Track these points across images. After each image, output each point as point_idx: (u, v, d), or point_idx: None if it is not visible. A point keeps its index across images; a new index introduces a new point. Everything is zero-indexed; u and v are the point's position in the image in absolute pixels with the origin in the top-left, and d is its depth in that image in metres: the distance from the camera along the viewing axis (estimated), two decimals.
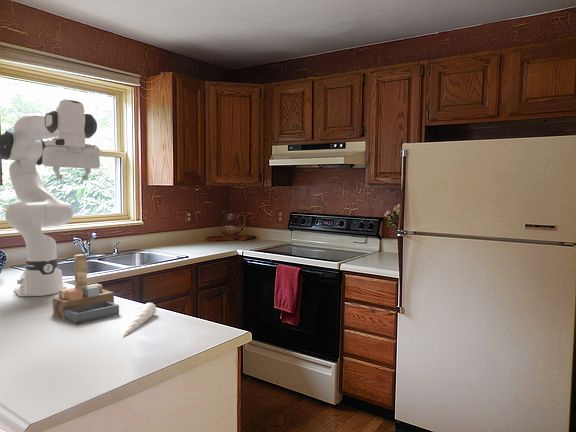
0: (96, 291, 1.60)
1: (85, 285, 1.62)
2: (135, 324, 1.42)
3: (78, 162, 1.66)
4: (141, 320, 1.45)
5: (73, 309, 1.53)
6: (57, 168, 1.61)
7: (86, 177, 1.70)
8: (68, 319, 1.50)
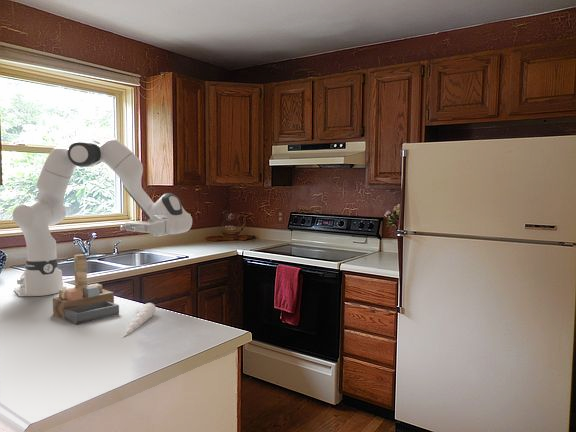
0: (96, 291, 1.60)
1: (85, 285, 1.62)
2: (135, 324, 1.41)
3: None
4: (141, 320, 1.45)
5: (73, 309, 1.53)
6: (144, 231, 1.74)
7: None
8: (68, 319, 1.50)
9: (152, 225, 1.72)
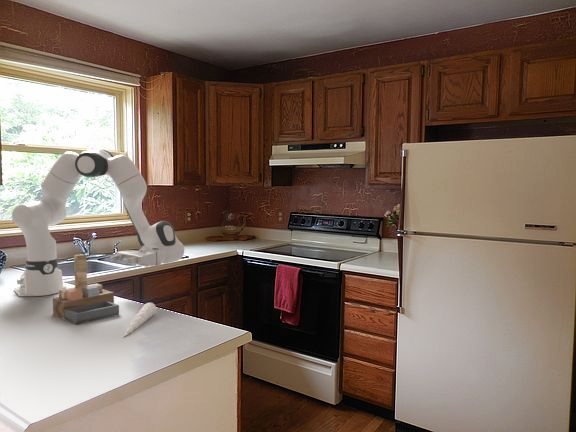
0: (96, 291, 1.60)
1: (85, 285, 1.62)
2: (135, 324, 1.41)
3: None
4: (141, 320, 1.45)
5: (73, 309, 1.53)
6: None
7: None
8: (68, 319, 1.50)
9: (143, 257, 1.70)
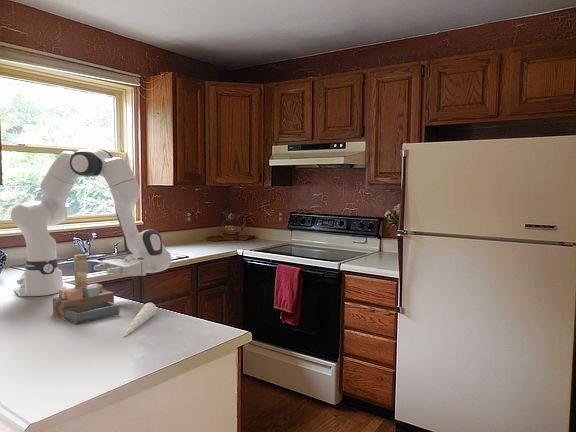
0: (96, 291, 1.60)
1: (85, 285, 1.62)
2: (135, 324, 1.41)
3: None
4: (141, 320, 1.45)
5: (73, 309, 1.53)
6: None
7: None
8: (68, 319, 1.50)
9: (127, 267, 1.65)
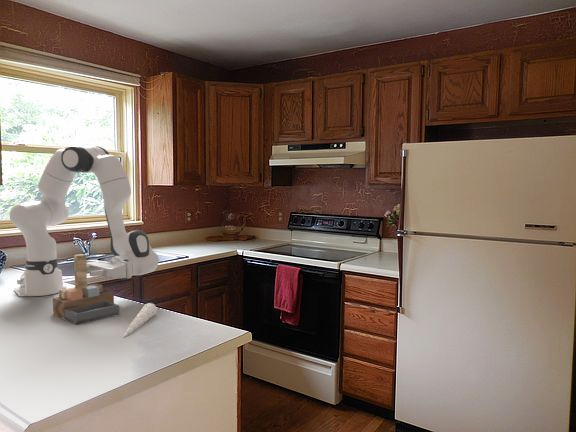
0: (96, 291, 1.60)
1: (85, 285, 1.62)
2: (135, 324, 1.41)
3: None
4: (141, 320, 1.45)
5: (73, 309, 1.53)
6: None
7: None
8: (68, 319, 1.50)
9: (111, 270, 1.61)
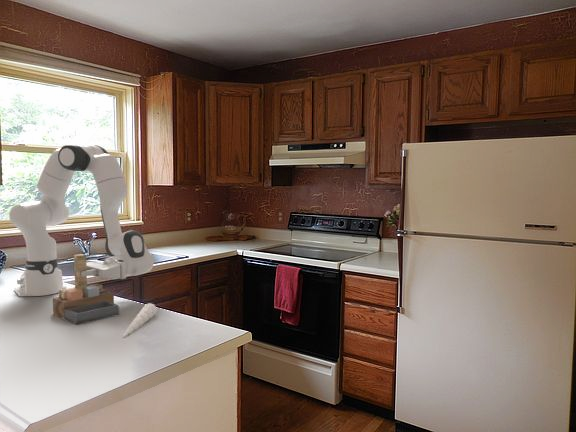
0: (96, 291, 1.60)
1: (85, 285, 1.62)
2: (135, 325, 1.41)
3: None
4: (141, 321, 1.45)
5: (73, 309, 1.53)
6: None
7: None
8: (68, 319, 1.50)
9: (105, 270, 1.59)
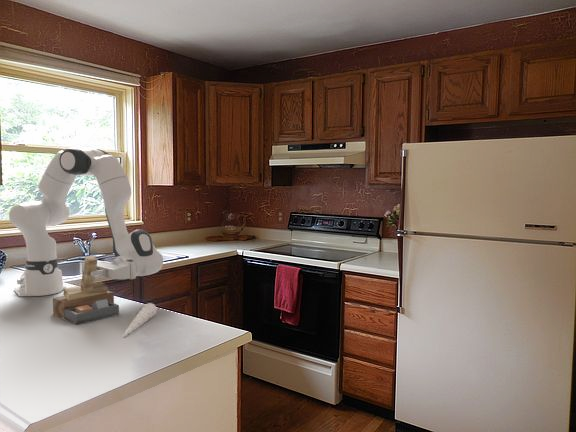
0: None
1: (91, 287, 1.59)
2: (135, 325, 1.41)
3: None
4: (141, 321, 1.45)
5: (73, 309, 1.53)
6: None
7: None
8: (68, 319, 1.50)
9: (114, 270, 1.54)
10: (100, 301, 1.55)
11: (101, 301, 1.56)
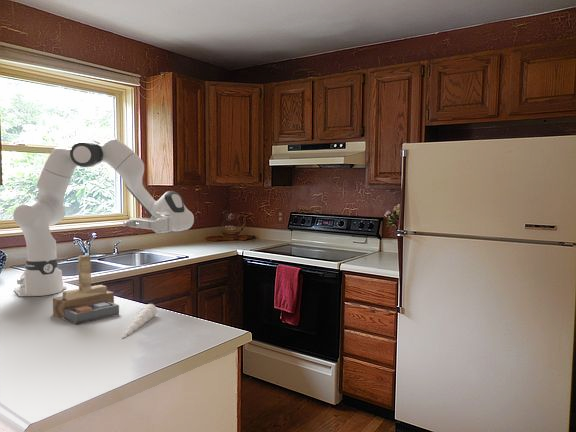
0: None
1: (89, 286, 1.60)
2: (135, 326, 1.40)
3: None
4: (141, 322, 1.44)
5: (73, 309, 1.53)
6: (147, 227, 1.77)
7: None
8: (68, 319, 1.50)
9: (155, 222, 1.75)
10: (103, 306, 1.54)
11: (104, 306, 1.55)
